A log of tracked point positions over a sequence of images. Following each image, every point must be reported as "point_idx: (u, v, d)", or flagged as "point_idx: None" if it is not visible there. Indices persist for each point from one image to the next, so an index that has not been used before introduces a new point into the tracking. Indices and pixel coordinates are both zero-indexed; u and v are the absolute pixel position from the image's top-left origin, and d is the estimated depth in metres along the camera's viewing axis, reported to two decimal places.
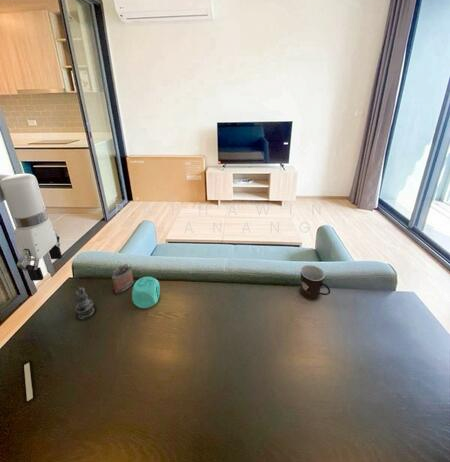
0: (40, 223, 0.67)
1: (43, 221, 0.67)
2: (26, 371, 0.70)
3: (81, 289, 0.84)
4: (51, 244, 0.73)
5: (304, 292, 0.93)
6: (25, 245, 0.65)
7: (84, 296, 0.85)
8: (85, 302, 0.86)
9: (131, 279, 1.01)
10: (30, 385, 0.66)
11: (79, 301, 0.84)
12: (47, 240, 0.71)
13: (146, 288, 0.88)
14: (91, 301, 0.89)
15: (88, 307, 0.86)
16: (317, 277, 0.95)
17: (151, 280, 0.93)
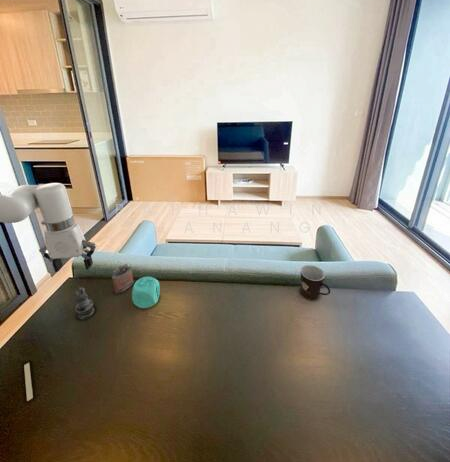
0: None
1: None
2: (26, 371, 0.70)
3: (81, 289, 0.84)
4: None
5: (304, 292, 0.93)
6: (81, 237, 0.78)
7: (84, 296, 0.85)
8: (85, 302, 0.86)
9: (131, 279, 1.01)
10: (30, 385, 0.66)
11: (79, 301, 0.84)
12: None
13: (146, 288, 0.88)
14: (91, 301, 0.89)
15: (88, 307, 0.86)
16: (317, 277, 0.95)
17: (151, 280, 0.93)
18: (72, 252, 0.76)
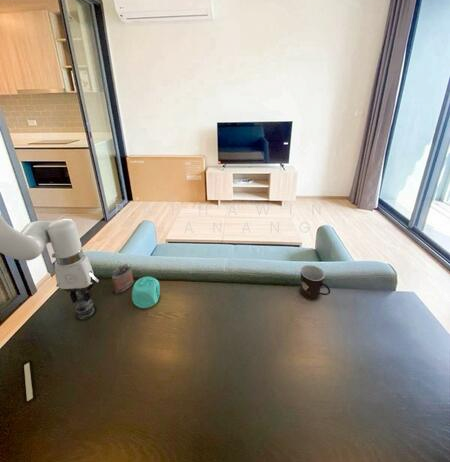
0: None
1: None
2: (26, 371, 0.70)
3: (81, 289, 0.84)
4: None
5: (304, 292, 0.93)
6: (89, 269, 0.82)
7: None
8: (85, 302, 0.86)
9: (131, 279, 1.01)
10: (30, 385, 0.66)
11: (79, 301, 0.84)
12: None
13: (146, 288, 0.88)
14: (91, 301, 0.89)
15: (88, 307, 0.86)
16: (317, 277, 0.95)
17: (151, 280, 0.93)
18: (80, 283, 0.80)
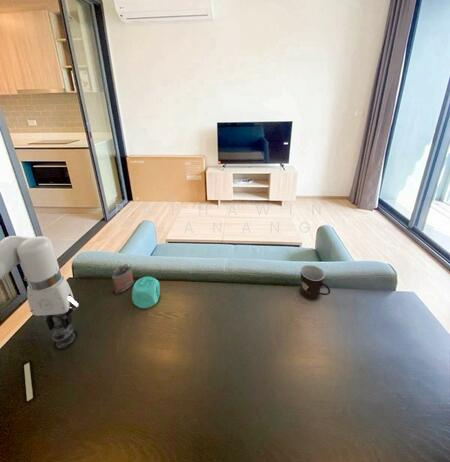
0: None
1: None
2: (26, 371, 0.70)
3: (59, 314, 0.75)
4: None
5: (304, 292, 0.93)
6: (68, 292, 0.72)
7: None
8: (64, 329, 0.76)
9: (131, 279, 1.01)
10: (30, 385, 0.66)
11: (57, 328, 0.75)
12: None
13: (146, 288, 0.88)
14: (71, 327, 0.79)
15: (67, 334, 0.76)
16: (317, 277, 0.95)
17: (151, 280, 0.93)
18: (57, 309, 0.71)
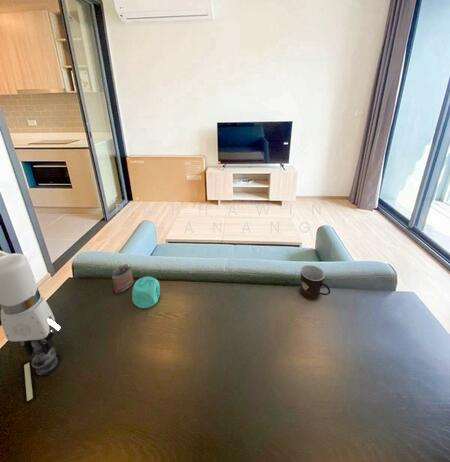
0: None
1: None
2: (26, 371, 0.70)
3: (38, 339, 0.67)
4: None
5: (304, 292, 0.93)
6: (48, 314, 0.65)
7: None
8: (44, 354, 0.68)
9: (131, 279, 1.01)
10: (30, 385, 0.66)
11: (36, 354, 0.67)
12: None
13: (146, 288, 0.88)
14: (53, 351, 0.71)
15: (48, 360, 0.69)
16: (317, 277, 0.95)
17: (151, 280, 0.93)
18: (35, 334, 0.63)
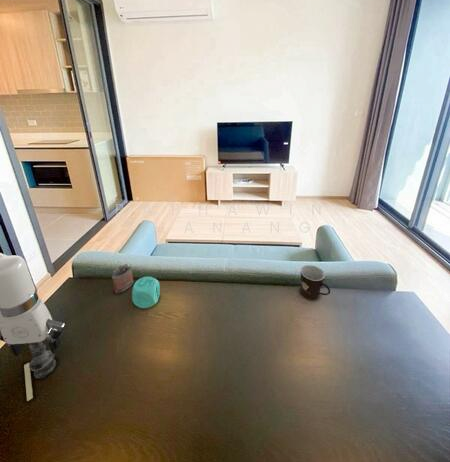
0: None
1: None
2: (26, 371, 0.70)
3: None
4: None
5: (304, 292, 0.93)
6: (46, 317, 0.64)
7: (40, 349, 0.67)
8: (42, 357, 0.68)
9: (131, 279, 1.01)
10: (30, 385, 0.66)
11: (34, 356, 0.67)
12: None
13: (146, 288, 0.88)
14: (51, 353, 0.71)
15: (46, 363, 0.68)
16: (317, 277, 0.95)
17: (151, 280, 0.93)
18: (33, 337, 0.62)
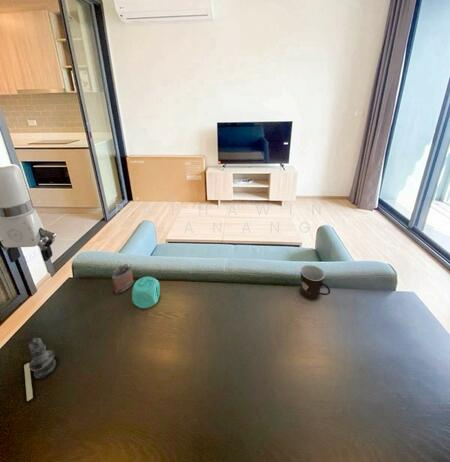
0: None
1: None
2: (26, 371, 0.70)
3: (36, 341, 0.67)
4: None
5: (304, 292, 0.93)
6: (39, 225, 0.71)
7: (40, 349, 0.67)
8: (42, 357, 0.68)
9: (131, 279, 1.01)
10: (30, 385, 0.66)
11: (34, 356, 0.67)
12: None
13: (146, 288, 0.88)
14: (51, 353, 0.71)
15: (46, 363, 0.68)
16: (317, 277, 0.95)
17: (151, 280, 0.93)
18: (27, 241, 0.69)
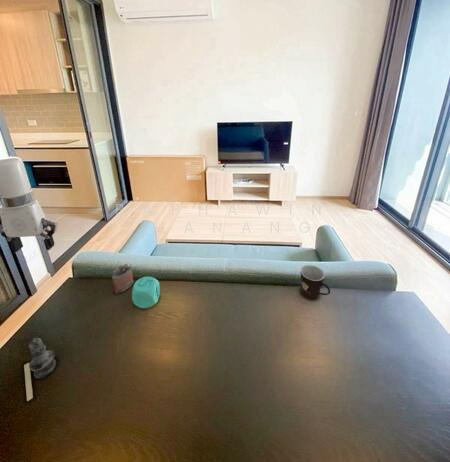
0: None
1: None
2: (26, 371, 0.70)
3: (36, 341, 0.67)
4: None
5: (304, 292, 0.93)
6: (41, 215, 0.74)
7: (40, 350, 0.67)
8: (42, 357, 0.68)
9: (131, 279, 1.01)
10: (30, 385, 0.66)
11: (34, 356, 0.67)
12: None
13: (146, 288, 0.88)
14: (51, 353, 0.71)
15: (46, 363, 0.68)
16: (317, 277, 0.95)
17: (151, 280, 0.93)
18: (30, 230, 0.72)
